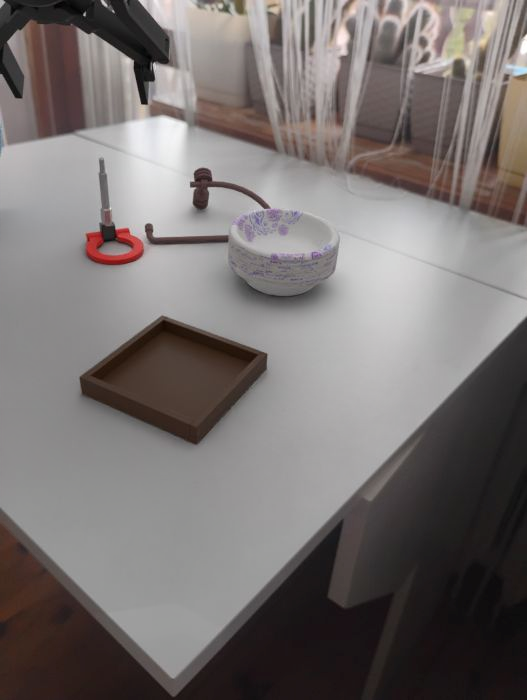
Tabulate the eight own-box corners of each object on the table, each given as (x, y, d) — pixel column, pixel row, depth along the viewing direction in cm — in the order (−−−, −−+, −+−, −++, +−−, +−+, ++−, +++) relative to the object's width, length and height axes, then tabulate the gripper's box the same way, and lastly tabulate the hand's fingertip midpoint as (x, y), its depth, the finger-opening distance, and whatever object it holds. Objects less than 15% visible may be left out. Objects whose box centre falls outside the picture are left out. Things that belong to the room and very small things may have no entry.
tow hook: (150, 262, 93) (133, 233, 99) (147, 178, 85) (129, 153, 91) (93, 270, 90) (79, 241, 96) (84, 185, 82) (70, 158, 88)
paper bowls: (285, 321, 81) (291, 266, 76) (204, 278, 89) (205, 226, 84) (354, 282, 90) (362, 232, 86) (275, 247, 98) (279, 198, 94)
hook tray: (81, 393, 67) (79, 376, 65) (162, 330, 77) (162, 314, 76) (196, 444, 62) (196, 427, 60) (266, 369, 72) (267, 353, 71)
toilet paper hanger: (146, 238, 95) (139, 165, 100) (146, 267, 102) (140, 197, 108) (284, 233, 99) (271, 163, 105) (275, 261, 107) (263, 195, 112)
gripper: (-150, -37, 47) (-37, 116, 68) (185, -16, 49) (195, 127, 69) (-138, -123, 48) (-30, 53, 69) (188, -99, 50) (197, 65, 71)
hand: (83, 90), depth 69 cm, fingers open, 13 cm apart
